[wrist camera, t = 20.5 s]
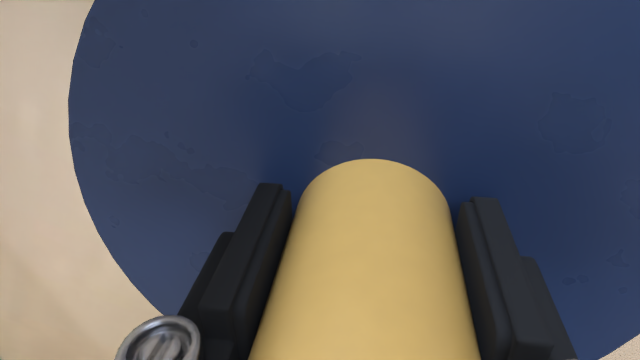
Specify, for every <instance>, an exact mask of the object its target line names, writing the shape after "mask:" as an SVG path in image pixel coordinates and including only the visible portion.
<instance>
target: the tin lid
mask: <svg viewBox="0 0 640 360" xmlns="http://www.w3.org/2000/svg"><path fill="white" fill-rule="evenodd" d="M68 111H69V139H70V145H71V151H72V157H73V163H74V169H75V173H76V176H77V180H78V183H79V186H80V189H81V193H82V196H83V199H84V203H85V205H86V207H87V209H88V211H89V214H90V216H91V218H92V220H93V223H94V225H95V227H96V229H97V232H98V233H99V235H100V237H101V238H102V240H103V242H104V243H105V245H106V247H107V248H108V250H109V252H110V253H111V255H112V257H113V258H114V260H115V261H116V263H117V264H118V265H119V267H120V268H121V269H122V271H123V272H124V273H125V274H126V276H127V277H128V278H129V280H130V281H131V282H132V284H133V285H134V286H135V287H136V288H137V289H138V290H139V291H140V292H141V293H142V294H143V296H144V297H145V298H146V299H147V300H148V301H149V302H150V303H151V304H152V305H153V306H154V307H155V308H156V309H157V310H158V311H159V312H161V313H162V314H163V315H164V316H165V315H177V314H178V312H179V310H180V308H181V306H182V305H183V303H184V301H185V299H186V297H187V295H188V293H189V292H190V290H191V288H192V286H193V284H194V282H195V280H196V279H197V277H198V275H199V273H200V271H201V269H202V268H203V266H204V264H205V262H206V260H207V258H208V256H209V255H210V253H211V251H212V249H213V247H214V245H215V243H216V242H217V240H218V238H219V236H220V235H221V234H222V233H223V232H235V230H236V228H237V226H238V224H239V222H240V220H241V218H242V216H243V214H244V212H245V210H246V208H247V206H248V204H249V202H250V200H251V198H252V196H253V194H254V192H255V190H256V188H257V186H258V184H259V183H276V184H282V185H283V188H284V190H290V192H291V203H292V220H293V221H292V224H291V228H290V231H289V234H288V237H287V240H286V243H285V246H284V249H283V252H282V255H281V259H280V262H279V265H278V268H277V271H276V274H275V277H274V280H273V283H272V286H271V289H270V293H269V296H268V299H267V302H266V305H265V308H264V311H263V314H262V317H261V320H260V324H259V327H258V330H257V333H256V336H255V339H254V342H253V345H252V348H251V351H250V355H249V358H248V360H481V355H480V351H479V346H478V341H477V336H476V332H475V327H474V322H473V317H472V313H471V308H470V303H469V298H468V293H467V289H466V284H465V279H464V274H463V270H462V265H461V260H460V255H459V251H458V246H457V241H456V236H455V230H456V225H457V220H458V215H459V210H460V206H461V203H462V202H469V200H470V198H471V197H472V196H473V197H488V198H497V199H498V201H499V203H500V205H501V208H502V211H503V213H504V216H505V218H506V221H507V223H508V226H509V229H510V231H511V234H512V236H513V239H514V241H515V244H516V247H517V249H518V252H519V254H520V256H530V257H532V258H534V259H535V261H536V263H537V264H538V267H539V269H540V271H541V274H542V276H543V278H544V281H545V283H546V285H547V288H548V290H549V292H550V295H551V297H552V299H553V301H554V304H555V306H556V308H557V311H558V313H559V315H560V318H561V320H562V322H563V325H564V327H565V329H566V332H567V334H568V336H569V339H570V341H571V343H572V346H573V348H574V350H575V353H576V355H577V357H578V359H579V360H598V359H600V358H602V357H604V356H606V355H608V354H610V353H611V352H613V351H614V350H616V349H617V348H619V347H620V346H622V345H623V344H625V343H626V342H628V341H630V340H631V339H633V338H634V337H636V336H637V335H639V334H640V0H95V1H94V3H93V5H92V7H91V9H90V11H89V13H88V15H87V17H86V19H85V22H84V25H83V29H82V32H81V36H80V39H79V43H78V46H77V49H76V53H75V56H74V60H73V66H72V74H71V82H70V90H69V97H68Z"/></svg>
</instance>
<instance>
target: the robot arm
mask: <svg viewBox="0 0 640 360" xmlns="http://www.w3.org/2000/svg"><path fill="white" fill-rule="evenodd" d="M292 221H293V220H292V203H291V192H290V190H284V188H283V185H282V184H276V183H259V184H258V186H257V188H256V190H255V192H254V194H253V196H252V198H251V200H250V202H249V204H248V206H247V208H246V210H245V212H244V214H243V216H242V218H241V220H240V222H239V224H238V226H237V228H236V230H235V232H223V233H222V234H221V235H220V236H219V238H218V240H217V242H216V243H215V245H214V247H213V249H212V251H211V253H210V255H209V256H208V258H207V260H206V262H205V264H204V266H203V268H202V269H201V271H200V273H199V275H198V277H197V279H196V280H195V282H194V284H193V286H192V288H191V290H190V292H189V293H188V295H187V297H186V299H185V301H184V303H183V305H182V306H181V308H180V310H179V312H178V314H177V315H165V316H159V317H155V318H153V319H150V320H148V321H145V322H144V323H142V324H141V325H139V326H138V327H136V328H135V329H134V330H133V331H132V332H131V333H130V334H129V335H128V336H127V337H126V338H125V339H124V341H123V342H122V344H121V346H120V347H119V349H118V352H117V354H116V356H115V359H114V360H248V358H249V355H250V351H251V348H252V345H253V342H254V339H255V336H256V333H257V330H258V327H259V324H260V320H261V317H262V314H263V311H264V308H265V305H266V302H267V299H268V296H269V293H270V289H271V286H272V283H273V280H274V277H275V274H276V271H277V268H278V265H279V262H280V259H281V255H282V252H283V249H284V246H285V243H286V240H287V237H288V234H289V231H290V228H291V224H292ZM455 236H456V241H457V246H458V251H459V255H460V260H461V265H462V270H463V274H464V279H465V284H466V289H467V293H468V298H469V303H470V308H471V313H472V317H473V322H474V327H475V332H476V336H477V341H478V346H479V351H480V355H481V360H579V359H578V357H577V355H576V353H575V350H574V348H573V346H572V343H571V341H570V339H569V336H568V334H567V332H566V329H565V327H564V325H563V322H562V320H561V318H560V315H559V313H558V311H557V308H556V306H555V304H554V301H553V299H552V297H551V295H550V292H549V290H548V288H547V285H546V283H545V281H544V278H543V276H542V274H541V271H540V269H539V267H538V264H537V263H536V261H535V259H534V258H532V257H530V256H520V254H519V252H518V249H517V247H516V244H515V241H514V239H513V236H512V234H511V231H510V229H509V226H508V223H507V221H506V218H505V216H504V213H503V211H502V208H501V205H500V203H499V201H498V199H497V198H488V197H473V196H472V197H471V198H470V200H469V202H462V203H461V206H460V210H459V215H458V220H457V225H456V230H455Z"/></svg>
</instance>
